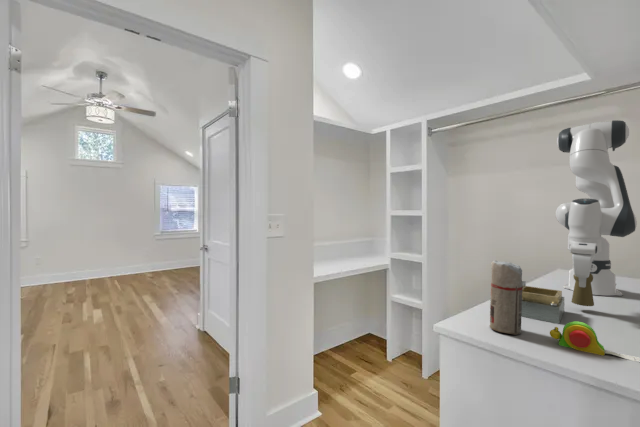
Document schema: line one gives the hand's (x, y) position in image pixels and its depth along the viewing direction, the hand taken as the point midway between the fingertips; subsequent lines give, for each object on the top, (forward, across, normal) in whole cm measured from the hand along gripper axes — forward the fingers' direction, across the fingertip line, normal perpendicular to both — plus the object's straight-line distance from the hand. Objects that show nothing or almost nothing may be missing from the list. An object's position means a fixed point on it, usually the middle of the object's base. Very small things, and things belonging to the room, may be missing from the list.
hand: (583, 285), depth 106 cm
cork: (+7, 0, 0) cm, 7 cm away
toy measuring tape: (+8, +38, +5) cm, 39 cm away
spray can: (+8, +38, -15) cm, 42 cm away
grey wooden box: (+9, +13, -10) cm, 19 cm away
